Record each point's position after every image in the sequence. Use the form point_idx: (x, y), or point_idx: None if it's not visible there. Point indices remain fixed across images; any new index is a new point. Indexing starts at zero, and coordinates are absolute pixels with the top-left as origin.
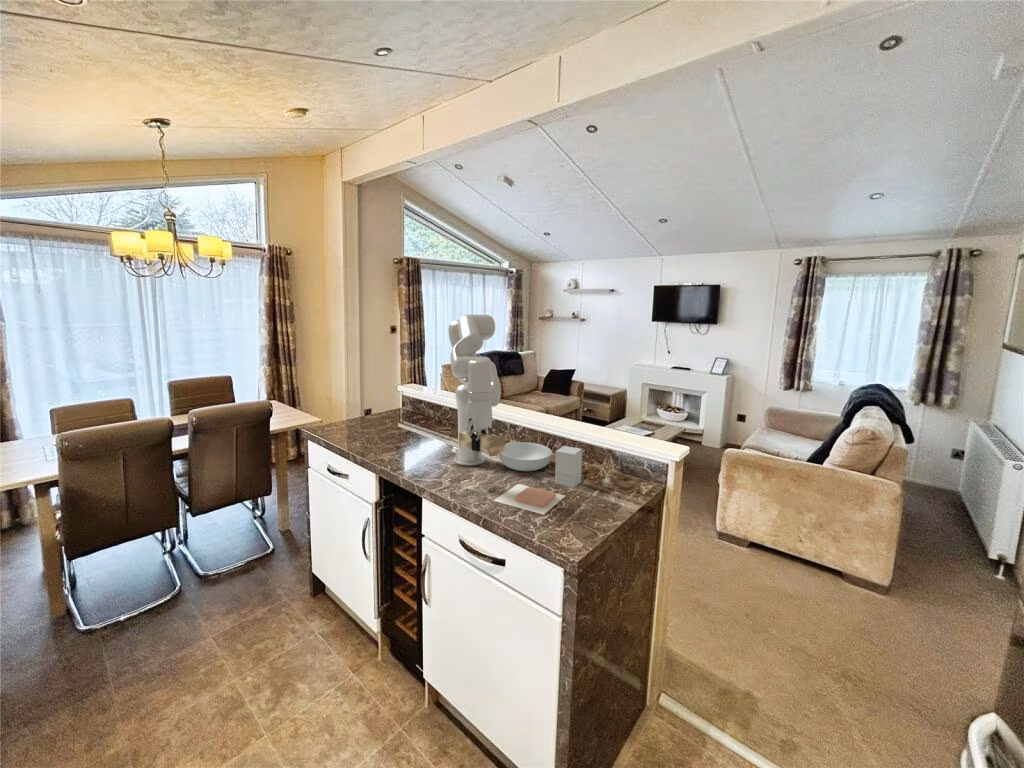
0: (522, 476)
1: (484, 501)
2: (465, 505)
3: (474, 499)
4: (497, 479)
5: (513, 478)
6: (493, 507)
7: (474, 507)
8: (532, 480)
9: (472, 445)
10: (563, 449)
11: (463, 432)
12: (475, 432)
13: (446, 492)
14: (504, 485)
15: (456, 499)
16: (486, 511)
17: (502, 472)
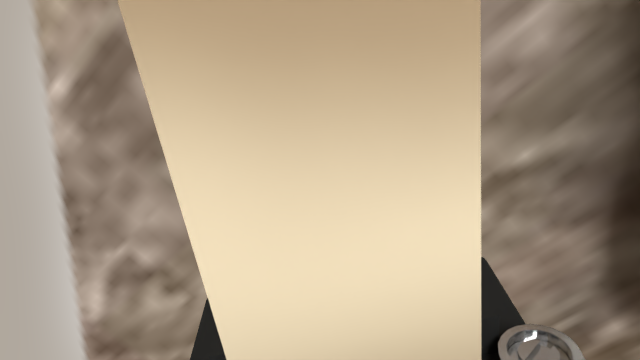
0: (628, 207)
1: (193, 271)
2: (79, 235)
3: (168, 219)
4: (497, 122)
5: (569, 187)
6: (181, 338)
7: (105, 280)
8: (596, 281)
9: (203, 320)
10: None
11: (237, 87)
12: (468, 299)
13: (88, 13)
14: None
15: (82, 145)
16: (126, 341)
17: (635, 61)
